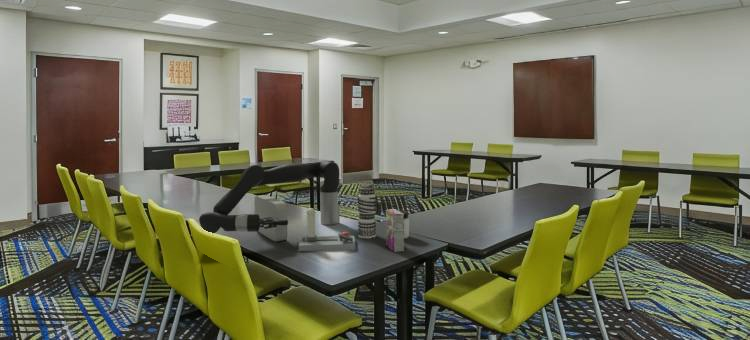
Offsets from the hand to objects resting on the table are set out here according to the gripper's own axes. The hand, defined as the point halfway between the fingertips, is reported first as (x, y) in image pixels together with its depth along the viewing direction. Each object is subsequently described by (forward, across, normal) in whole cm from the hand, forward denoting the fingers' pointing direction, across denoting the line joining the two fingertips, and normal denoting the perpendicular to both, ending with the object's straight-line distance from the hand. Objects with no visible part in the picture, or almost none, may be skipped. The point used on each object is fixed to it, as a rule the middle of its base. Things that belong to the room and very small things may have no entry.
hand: (287, 222), depth 206 cm
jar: (+51, +13, +11) cm, 54 cm away
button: (+25, +4, +8) cm, 27 cm away
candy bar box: (+46, -7, +11) cm, 48 cm away
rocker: (+25, -4, +7) cm, 26 cm away
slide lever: (+10, 0, +8) cm, 13 cm away
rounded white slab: (-11, +21, +11) cm, 26 cm away
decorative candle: (+36, +16, +11) cm, 40 cm away
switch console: (+17, 0, +11) cm, 20 cm away
